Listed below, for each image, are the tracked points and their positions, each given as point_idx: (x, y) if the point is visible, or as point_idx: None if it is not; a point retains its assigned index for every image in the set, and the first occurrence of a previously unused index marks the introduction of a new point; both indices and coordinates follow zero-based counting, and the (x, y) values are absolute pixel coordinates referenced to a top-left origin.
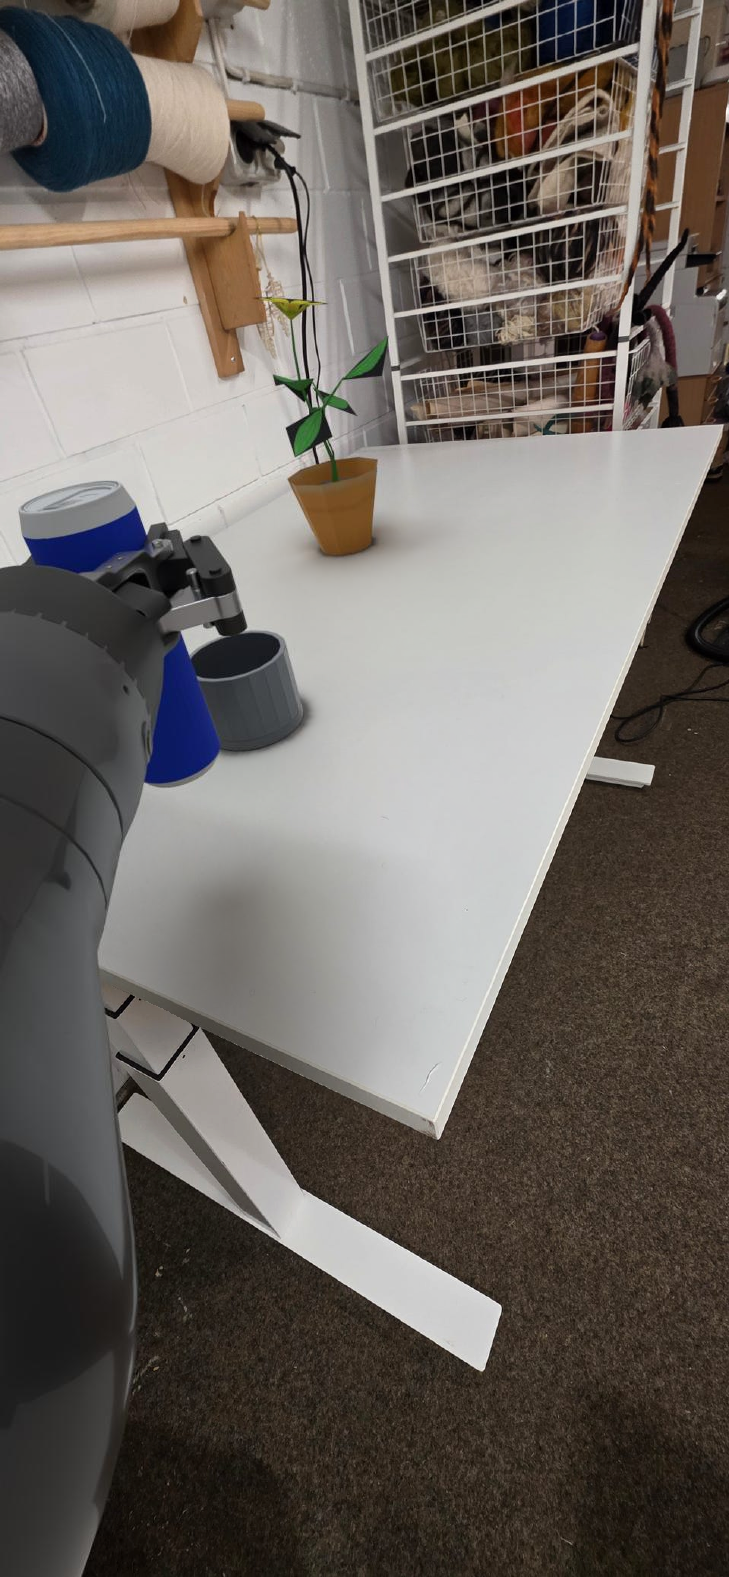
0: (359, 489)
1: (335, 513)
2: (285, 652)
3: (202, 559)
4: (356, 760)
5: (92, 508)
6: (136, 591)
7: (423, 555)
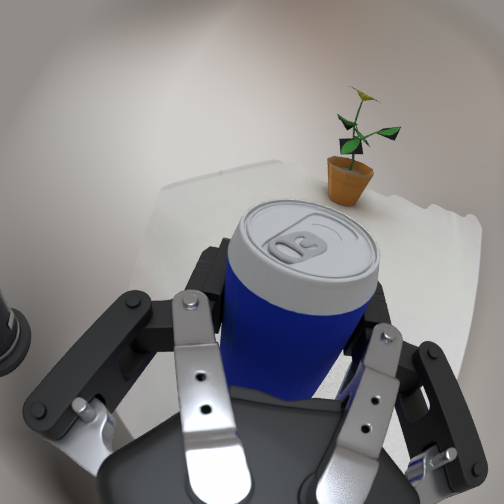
0: (362, 180)
1: (346, 185)
2: None
3: (457, 423)
4: (337, 372)
5: (355, 288)
6: (392, 488)
7: (380, 225)
